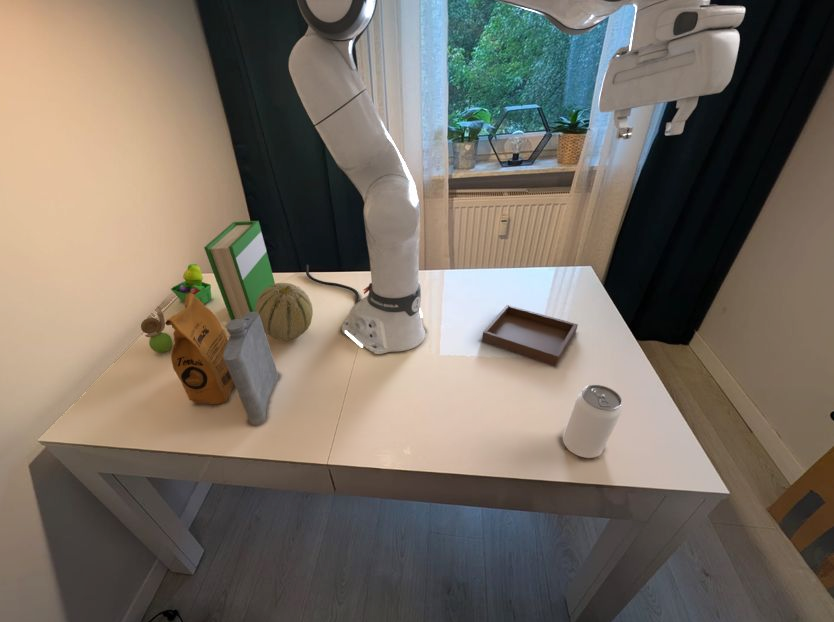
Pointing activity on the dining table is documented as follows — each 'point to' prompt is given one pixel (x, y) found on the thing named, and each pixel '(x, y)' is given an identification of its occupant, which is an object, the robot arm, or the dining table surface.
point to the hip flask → (250, 364)
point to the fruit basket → (193, 285)
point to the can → (592, 421)
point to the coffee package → (200, 353)
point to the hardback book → (240, 266)
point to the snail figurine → (157, 333)
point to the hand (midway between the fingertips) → (646, 137)
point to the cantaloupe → (284, 311)
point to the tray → (530, 334)
